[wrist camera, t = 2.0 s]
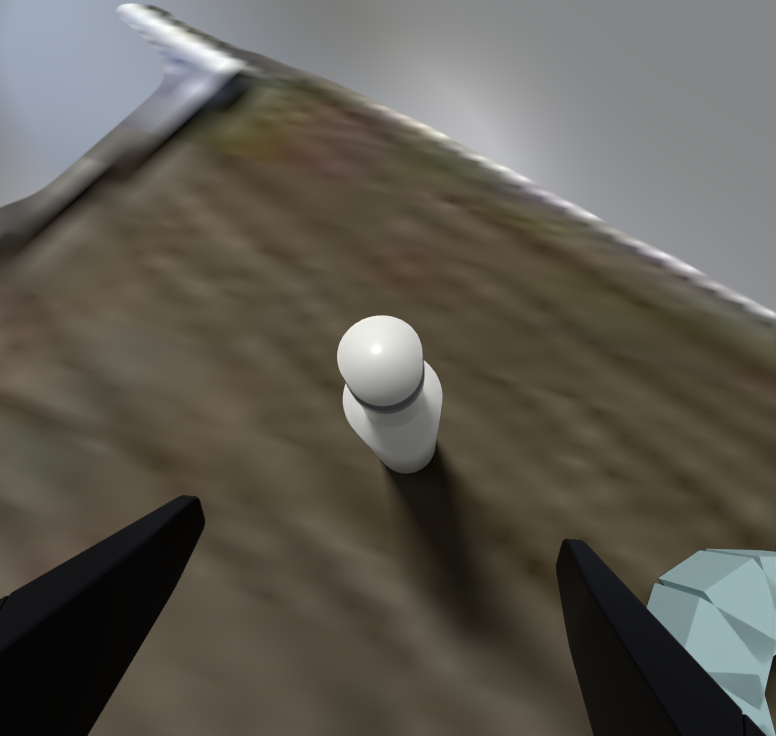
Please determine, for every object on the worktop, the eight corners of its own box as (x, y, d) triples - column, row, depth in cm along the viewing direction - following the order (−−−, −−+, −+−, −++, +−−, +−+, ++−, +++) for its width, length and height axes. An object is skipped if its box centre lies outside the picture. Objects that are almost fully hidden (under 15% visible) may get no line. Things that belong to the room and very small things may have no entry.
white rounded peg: (417, 485, 19) (404, 448, 8) (366, 454, 20) (285, 378, 9) (446, 432, 20) (473, 328, 9) (395, 404, 21) (358, 275, 10)
